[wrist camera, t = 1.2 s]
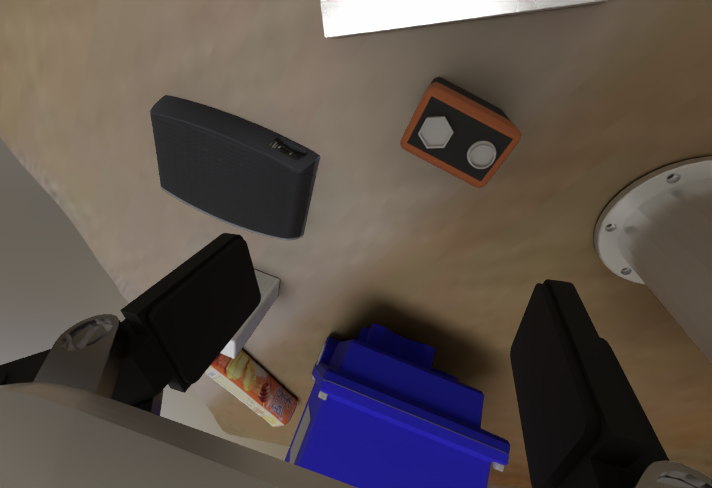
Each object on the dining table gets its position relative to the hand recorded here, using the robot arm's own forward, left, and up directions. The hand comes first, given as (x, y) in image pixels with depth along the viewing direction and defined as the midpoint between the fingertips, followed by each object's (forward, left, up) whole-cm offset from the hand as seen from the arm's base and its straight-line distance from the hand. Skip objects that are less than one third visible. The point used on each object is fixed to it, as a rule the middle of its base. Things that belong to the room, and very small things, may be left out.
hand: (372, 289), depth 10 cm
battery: (-3, -1, -23) cm, 23 cm away
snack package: (+33, +48, -23) cm, 62 cm away
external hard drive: (+22, +4, -24) cm, 33 cm away
